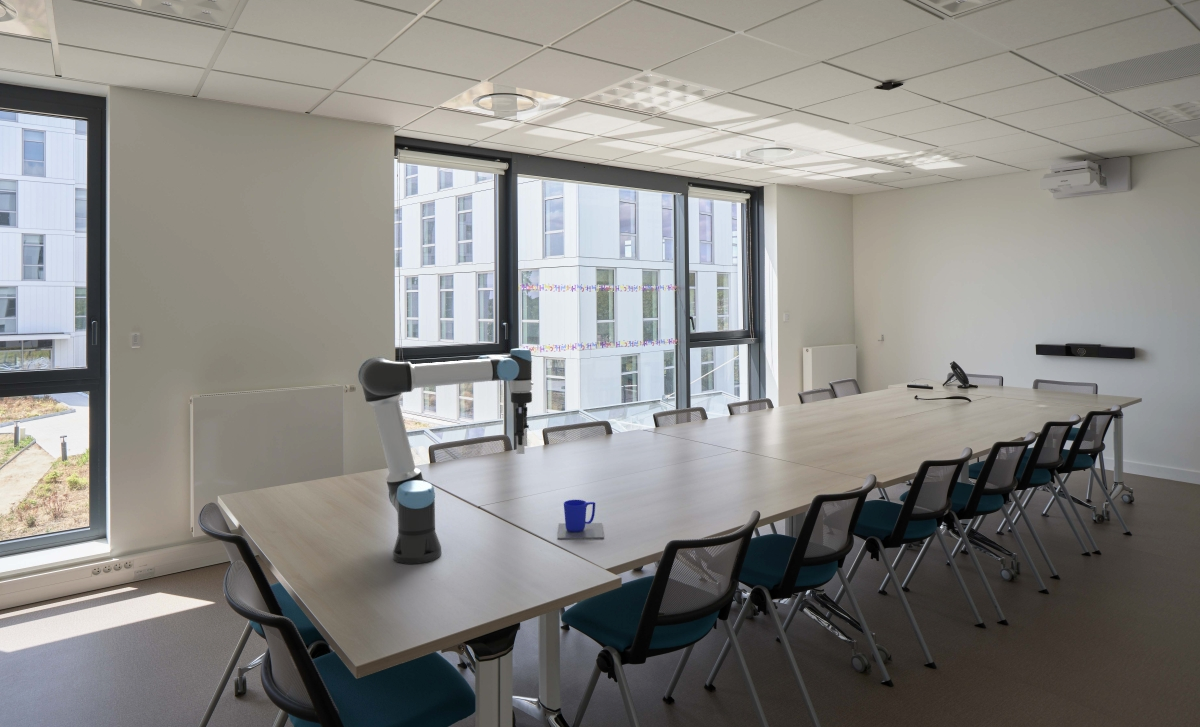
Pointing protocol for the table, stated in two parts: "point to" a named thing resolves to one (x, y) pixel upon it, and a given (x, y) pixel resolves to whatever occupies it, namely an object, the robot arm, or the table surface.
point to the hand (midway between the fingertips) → (522, 449)
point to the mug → (577, 514)
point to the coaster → (581, 532)
